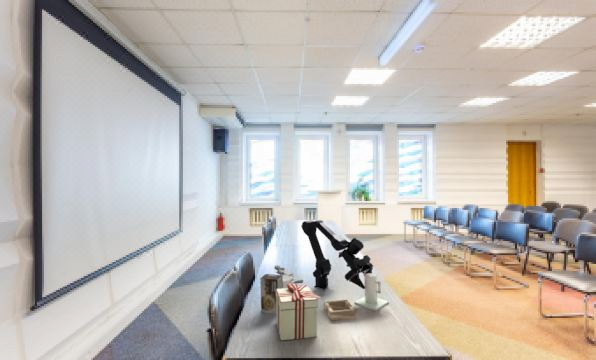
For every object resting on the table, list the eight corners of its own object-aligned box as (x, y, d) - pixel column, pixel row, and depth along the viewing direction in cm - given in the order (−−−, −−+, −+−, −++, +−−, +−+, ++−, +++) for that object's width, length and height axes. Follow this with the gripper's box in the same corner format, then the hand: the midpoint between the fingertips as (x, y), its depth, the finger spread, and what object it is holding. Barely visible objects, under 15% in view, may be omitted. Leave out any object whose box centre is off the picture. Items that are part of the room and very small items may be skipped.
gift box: (327, 335, 114) (326, 291, 114) (281, 343, 109) (281, 298, 109) (312, 316, 130) (312, 278, 131) (272, 322, 125) (272, 282, 125)
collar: (324, 309, 137) (324, 301, 137) (347, 307, 139) (346, 299, 139) (330, 320, 126) (330, 312, 126) (355, 318, 128) (355, 310, 128)
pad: (354, 303, 143) (354, 301, 143) (367, 296, 151) (367, 294, 151) (375, 311, 135) (375, 309, 135) (388, 303, 143) (388, 301, 143)
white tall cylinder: (362, 301, 143) (362, 275, 143) (369, 298, 147) (368, 272, 147) (377, 306, 137) (376, 279, 137) (383, 302, 141) (383, 276, 142)
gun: (266, 265, 202) (279, 261, 207) (266, 270, 202) (279, 266, 207) (288, 281, 170) (302, 277, 174) (288, 287, 170) (303, 282, 175)
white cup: (277, 294, 156) (276, 276, 156) (291, 293, 157) (291, 275, 157) (277, 300, 148) (277, 281, 148) (292, 299, 149) (292, 280, 149)
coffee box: (283, 308, 139) (283, 275, 139) (278, 314, 133) (277, 279, 133) (266, 306, 142) (265, 273, 142) (260, 311, 136) (259, 277, 136)
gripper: (349, 254, 141) (369, 282, 133) (369, 247, 154) (389, 272, 146) (336, 266, 146) (355, 294, 139) (357, 259, 160) (375, 284, 152)
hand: (369, 286), depth 144 cm, fingers open, 9 cm apart
